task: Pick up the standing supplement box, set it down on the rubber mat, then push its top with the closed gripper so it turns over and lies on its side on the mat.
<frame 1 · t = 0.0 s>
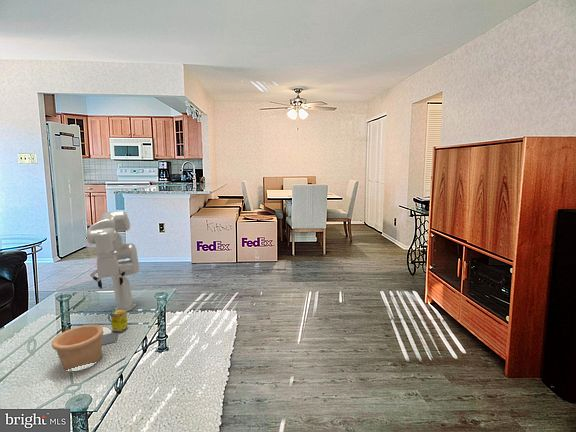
hand: (111, 286, 190), 31 cm above the table, fingers open, 9 cm apart
pottery: (83, 362, 178), on the table
mat: (97, 341, 196), on the table
supplement box: (120, 330, 206), on the table, touching mat
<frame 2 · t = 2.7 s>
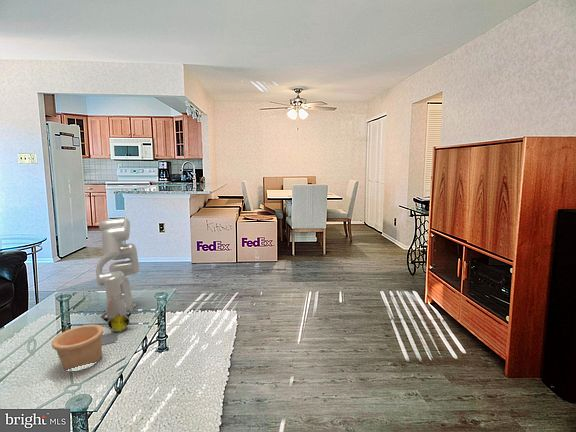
hand: (119, 326, 206), 3 cm above the table, fingers closed on supplement box, 8 cm apart
supplement box: (120, 330, 206), on the table, touching gripper, mat
everything else where it was.
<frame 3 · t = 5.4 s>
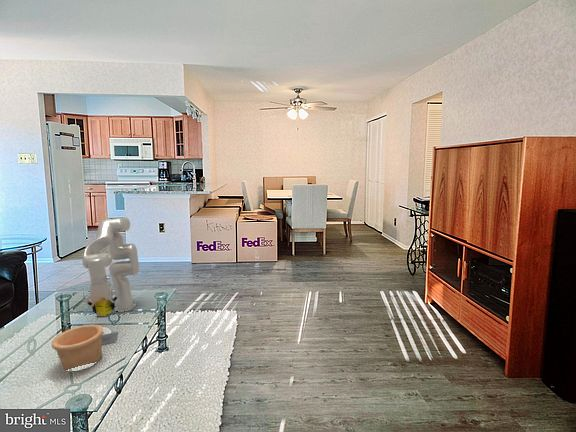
hand: (104, 310, 195), 17 cm above the table, fingers closed on supplement box, 8 cm apart
supplement box: (105, 315, 196), point 14 cm above the table, touching gripper
everything else where it was.
when the fingers open (5 cm above the table, at t = 8.0 s): supplement box drops 2 cm, resting on mat.
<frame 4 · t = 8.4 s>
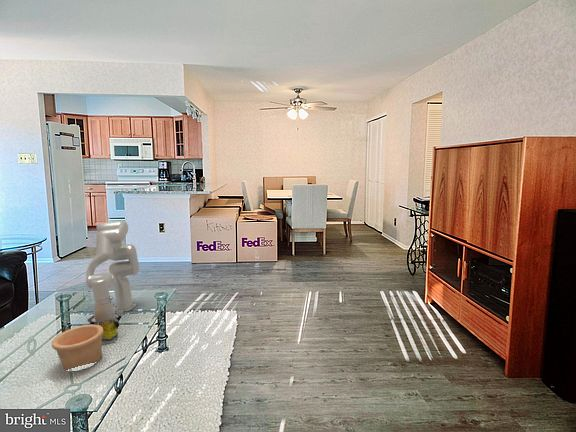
hand: (107, 329, 197), 5 cm above the table, fingers open, 9 cm apart
supplement box: (109, 338, 199), resting on mat
everything else where it was.
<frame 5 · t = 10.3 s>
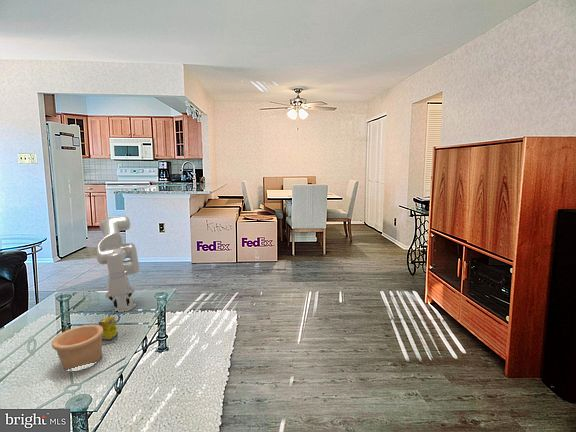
hand: (122, 305, 198), 17 cm above the table, fingers open, 5 cm apart
nothing on the table moved.
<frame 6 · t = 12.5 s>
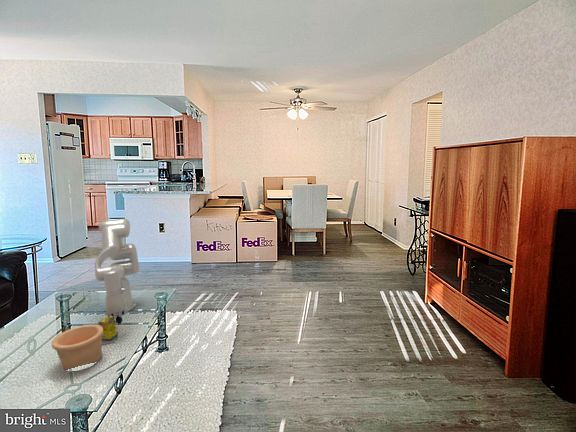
hand: (119, 323, 199), 8 cm above the table, fingers closed
supplement box: (109, 338, 199), resting on mat, touching gripper
everything else where it was.
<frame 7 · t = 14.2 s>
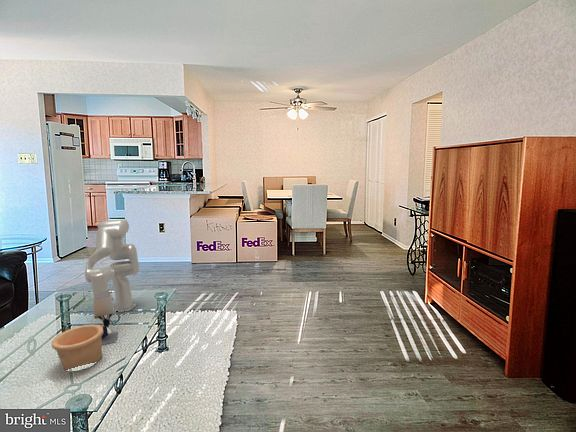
hand: (107, 326, 197), 8 cm above the table, fingers closed
supplement box: (104, 332, 199), point 3 cm above the table, touching mat
everything else where it was.
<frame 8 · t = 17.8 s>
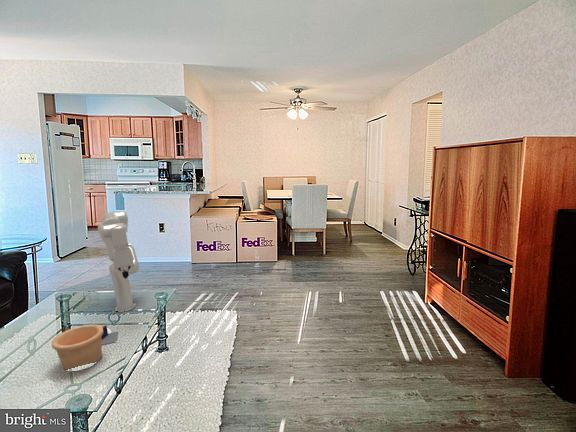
hand: (126, 277, 208), 29 cm above the table, fingers closed
nothing on the table moved.
at the end: supplement box tilted 90°; supplement box inside the target area (5.1 cm from its centre), point 3.4 cm above the table; the gripper is holding nothing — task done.
